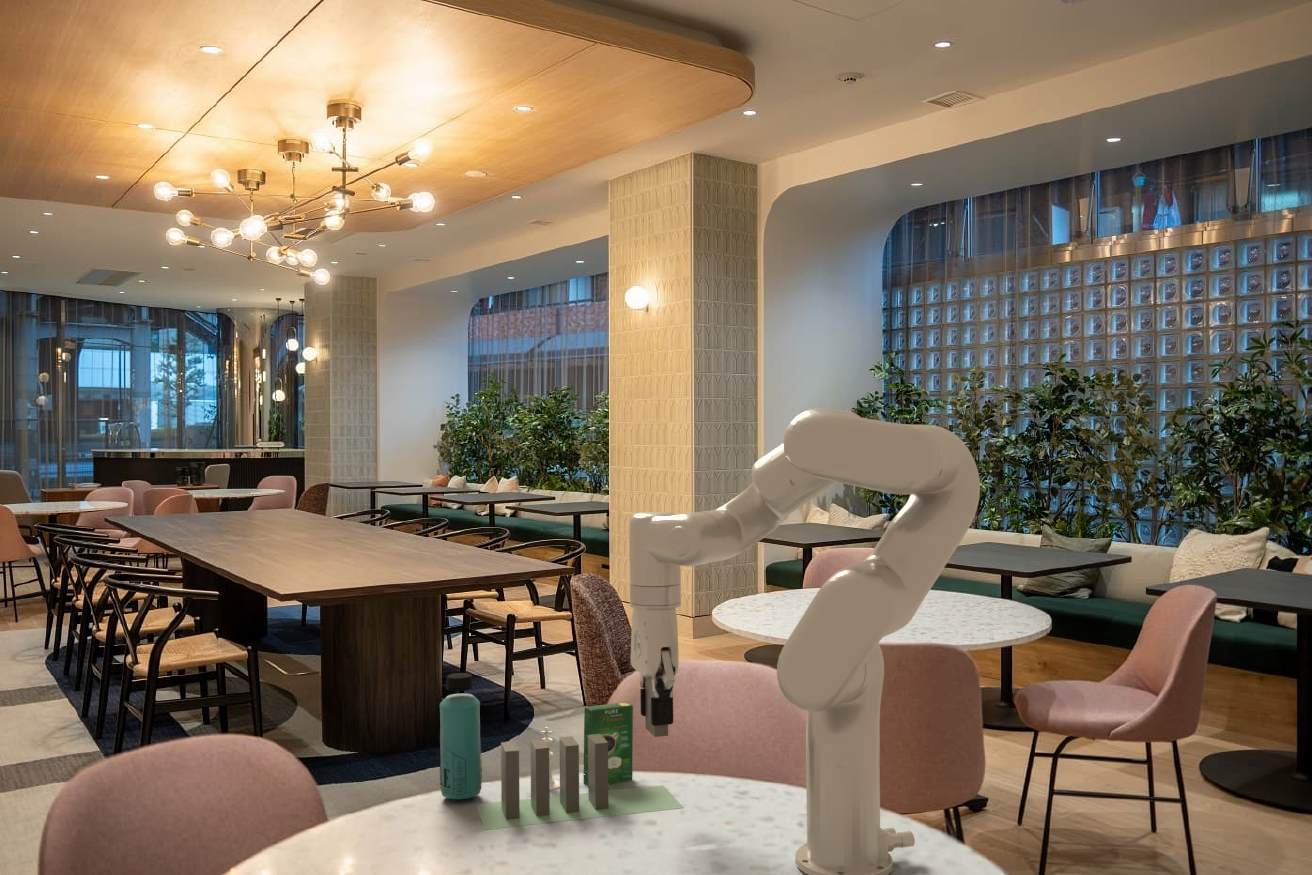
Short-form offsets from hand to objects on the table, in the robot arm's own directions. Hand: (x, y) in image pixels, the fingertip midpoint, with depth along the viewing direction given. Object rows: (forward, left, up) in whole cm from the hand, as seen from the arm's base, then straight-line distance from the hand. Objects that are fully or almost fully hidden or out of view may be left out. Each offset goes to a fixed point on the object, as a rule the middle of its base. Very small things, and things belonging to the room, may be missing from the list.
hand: (656, 718), depth 153 cm
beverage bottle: (+27, -18, -16) cm, 36 cm away
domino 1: (+21, -9, -15) cm, 27 cm away
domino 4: (+7, -9, -15) cm, 18 cm away
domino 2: (+16, -9, -15) cm, 23 cm away
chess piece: (+13, -20, -16) cm, 28 cm away
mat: (+10, -9, -15) cm, 20 cm away
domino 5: (0, 0, -2) cm, 2 cm away
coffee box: (+3, -19, -16) cm, 24 cm away
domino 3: (+12, -9, -15) cm, 21 cm away
